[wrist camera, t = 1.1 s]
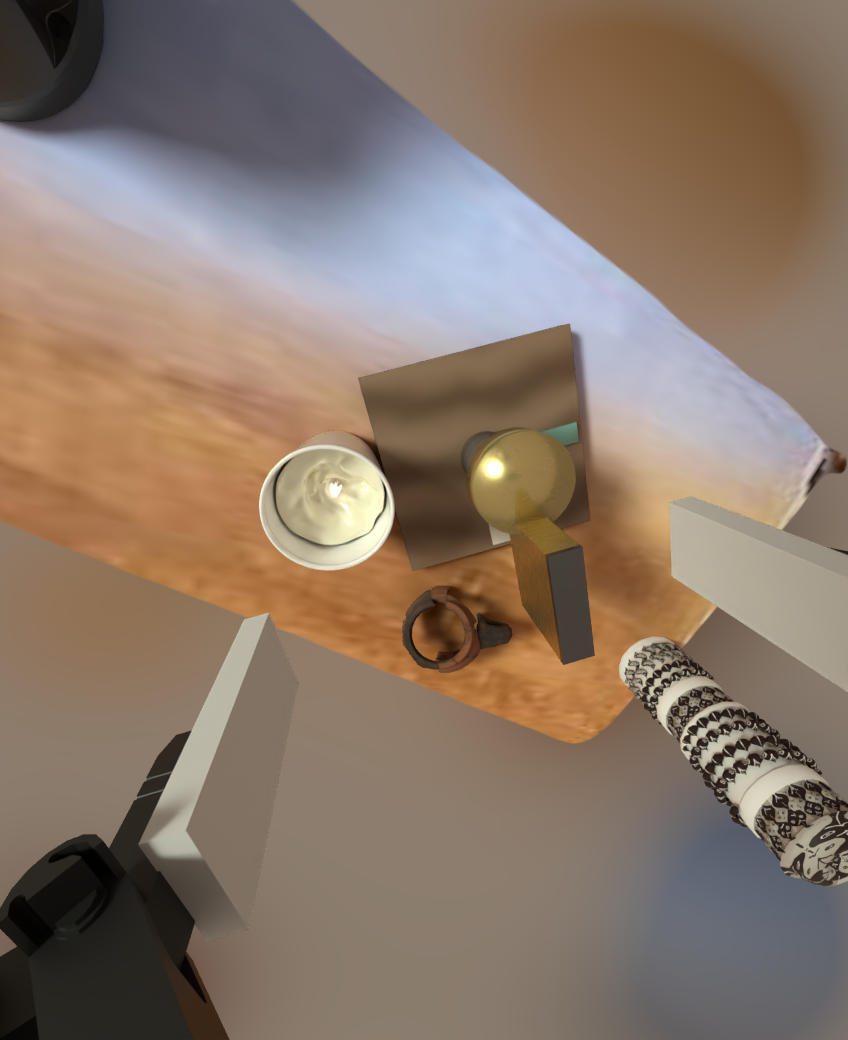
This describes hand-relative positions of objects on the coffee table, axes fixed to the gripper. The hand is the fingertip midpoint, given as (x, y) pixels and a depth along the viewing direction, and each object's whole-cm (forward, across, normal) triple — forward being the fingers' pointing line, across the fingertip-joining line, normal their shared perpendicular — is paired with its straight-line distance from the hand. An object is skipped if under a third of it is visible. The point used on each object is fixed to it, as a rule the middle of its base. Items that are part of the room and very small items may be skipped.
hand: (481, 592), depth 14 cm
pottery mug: (+32, +1, -22) cm, 38 cm away
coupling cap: (+21, +8, -7) cm, 23 cm away
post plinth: (+31, +8, -3) cm, 32 cm away
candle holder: (+31, -7, -1) cm, 32 cm away
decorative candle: (+32, +25, -37) cm, 55 cm away
